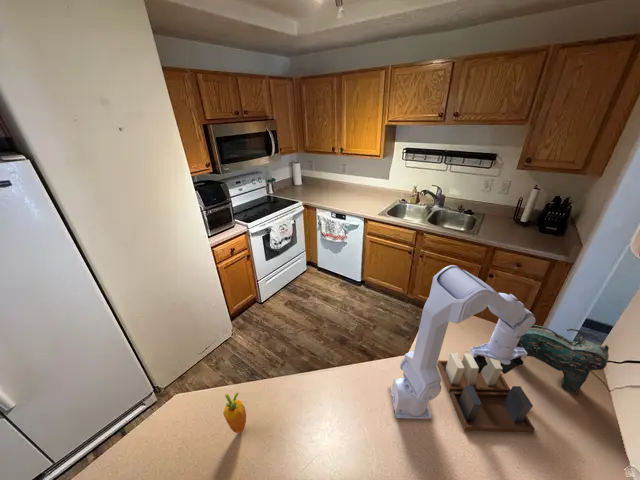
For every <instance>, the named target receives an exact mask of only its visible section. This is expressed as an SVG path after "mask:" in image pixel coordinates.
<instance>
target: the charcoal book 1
mask: <svg viewBox="0 0 640 480" xmlns="http://www.w3.org/2000/svg"><path fill="white" fill-rule="evenodd" d="M458 403H459V405H460V408H461V410H462V413H463V415H464V417H465V420H466V421H473V422H474V420H475V418H476V416H477V414H478V412H479V410H480V408H481V406H482V403H481V401H480V399H479V397H478V395H477V393H476V391H475V389H474V387H473V385H465V387H464V389H463V392H462V394H461V396H460V399H459V401H458Z"/></svg>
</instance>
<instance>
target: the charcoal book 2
mask: <svg viewBox="0 0 640 480" xmlns="http://www.w3.org/2000/svg"><path fill="white" fill-rule="evenodd" d="M503 404H504V406H505V407H506V409H507V411H508V413H509V414H510V416H511V418H512V420H513V421H514V423H522V422H523V420H524V419H525V417H526V416H527V417H528V414H529V413H530V411H531V410H532V409H533V407H534V405H533V404H532V402H531V401H530V399H529V397H528V396H527V394H526V393H525V391H524V390H523V388H522V386H520V385H512V387H511V388H510V392H509V394H508V395H507V397H506V399H505V401H504V402H503Z"/></svg>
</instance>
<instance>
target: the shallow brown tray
mask: <svg viewBox="0 0 640 480" xmlns="http://www.w3.org/2000/svg"><path fill="white" fill-rule="evenodd" d="M462 361H463V360H461V362H462ZM447 362H448V360H440V359H438V361H437V365H436V366H437V368H438V370H439V372H440V375H441V378H442V380H443V382H444V385H445V387H446V390H447V392H448V393H451V392H463V389H464V387H465V385H468V383H467V381H466V379H465V377H464V375H463V374H462V376H461V379H460V381H459V384H458V385H451V382H450V380H449V378H448V375H447V373H446V371H445V368H446V365H447ZM473 387H474V389H475V391H476V392H500V393H509V392H510V390H511V388H510V386H509V384H508V383H507V382H506V380H505V378H504V377H503V375H502V372H501V373H500V375H499V377H498V379H497V381H496V383H495V385H494V386H491V385H487V384H486V382H485V380H484V378H483V376H482V374H481V373H478V375H477V379H476V384H475V385H473Z"/></svg>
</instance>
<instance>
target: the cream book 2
mask: <svg viewBox="0 0 640 480" xmlns="http://www.w3.org/2000/svg"><path fill="white" fill-rule="evenodd" d="M461 361H462V364H463V366H464V368H465V369H464V371H463V375H464V377H465V379H466V381H467V383H468V385H475V384H476V379H477V375H478V370H479V367H478V365H477V363H476V362H475V360H474V358H473V356H472V355H471V353H470V352H463V356H462V360H461Z"/></svg>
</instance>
